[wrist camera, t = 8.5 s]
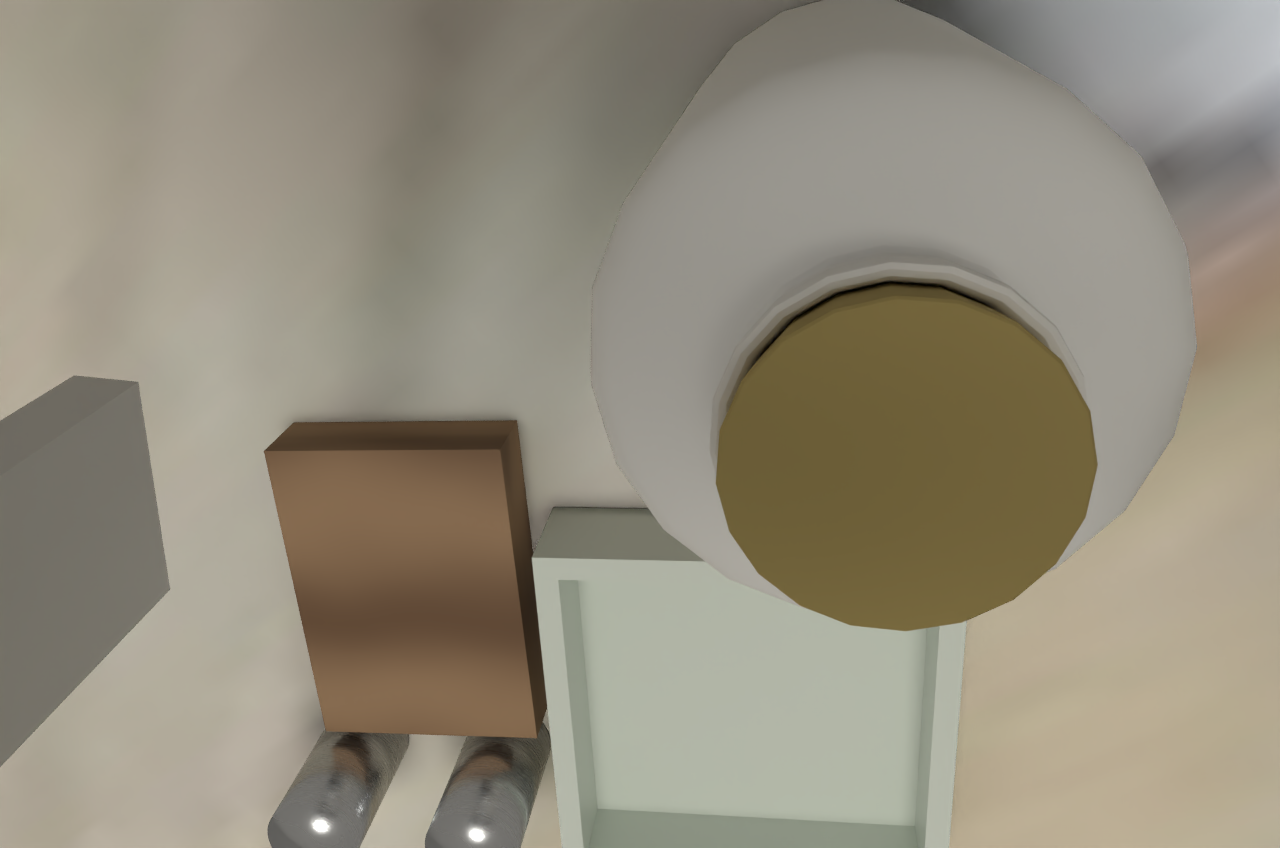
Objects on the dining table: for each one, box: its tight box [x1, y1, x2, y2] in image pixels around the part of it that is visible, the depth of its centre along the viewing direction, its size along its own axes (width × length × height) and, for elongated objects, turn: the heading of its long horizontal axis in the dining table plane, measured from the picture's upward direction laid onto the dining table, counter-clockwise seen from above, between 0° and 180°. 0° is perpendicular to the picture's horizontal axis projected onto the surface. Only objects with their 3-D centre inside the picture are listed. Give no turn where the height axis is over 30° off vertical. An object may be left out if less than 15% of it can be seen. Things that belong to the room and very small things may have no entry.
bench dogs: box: [268, 724, 551, 848], centre depth 35 cm, size 3×8×5 cm, turn 93°
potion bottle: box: [590, 0, 1197, 631], centre depth 20 cm, size 8×8×18 cm
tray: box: [532, 507, 967, 848], centre depth 34 cm, size 12×12×3 cm
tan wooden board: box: [264, 420, 547, 738], centre depth 34 cm, size 10×7×2 cm
